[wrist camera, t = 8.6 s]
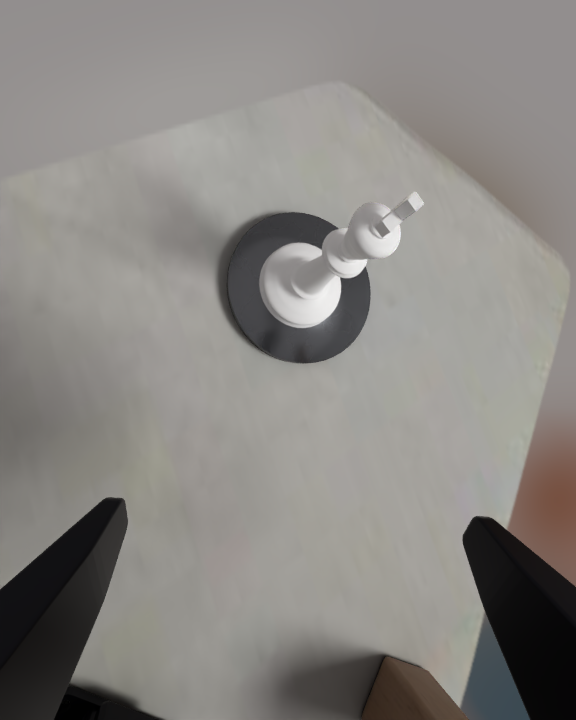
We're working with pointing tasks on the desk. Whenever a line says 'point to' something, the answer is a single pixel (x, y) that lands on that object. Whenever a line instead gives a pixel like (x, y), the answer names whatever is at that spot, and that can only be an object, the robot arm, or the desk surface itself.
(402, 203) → the chess piece
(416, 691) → the wooden block
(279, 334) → the carrier plate
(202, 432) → the desk surface
